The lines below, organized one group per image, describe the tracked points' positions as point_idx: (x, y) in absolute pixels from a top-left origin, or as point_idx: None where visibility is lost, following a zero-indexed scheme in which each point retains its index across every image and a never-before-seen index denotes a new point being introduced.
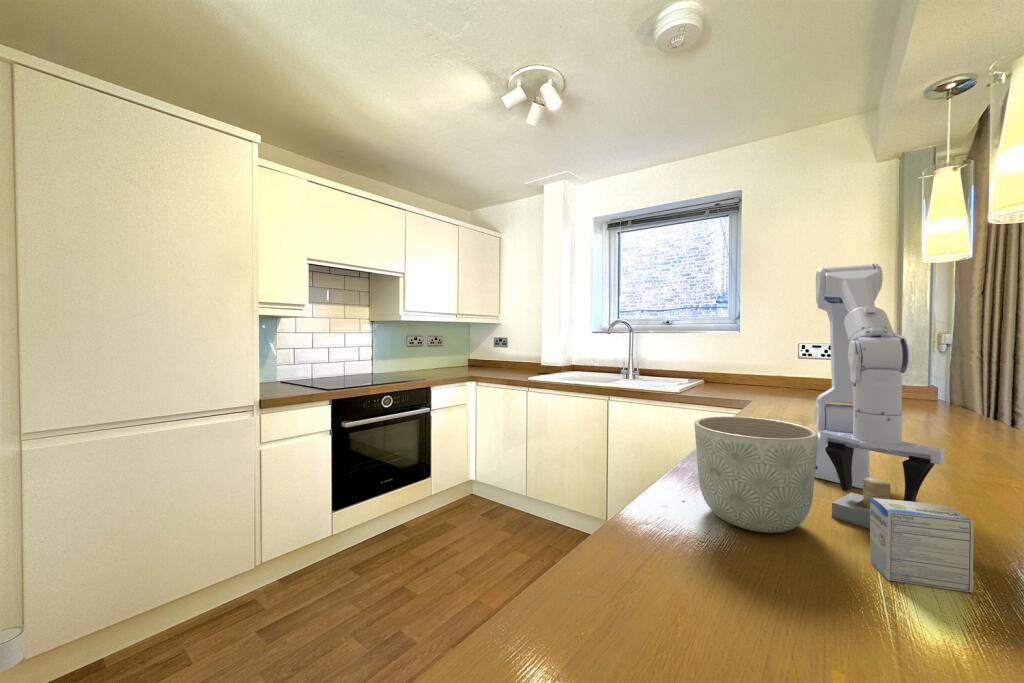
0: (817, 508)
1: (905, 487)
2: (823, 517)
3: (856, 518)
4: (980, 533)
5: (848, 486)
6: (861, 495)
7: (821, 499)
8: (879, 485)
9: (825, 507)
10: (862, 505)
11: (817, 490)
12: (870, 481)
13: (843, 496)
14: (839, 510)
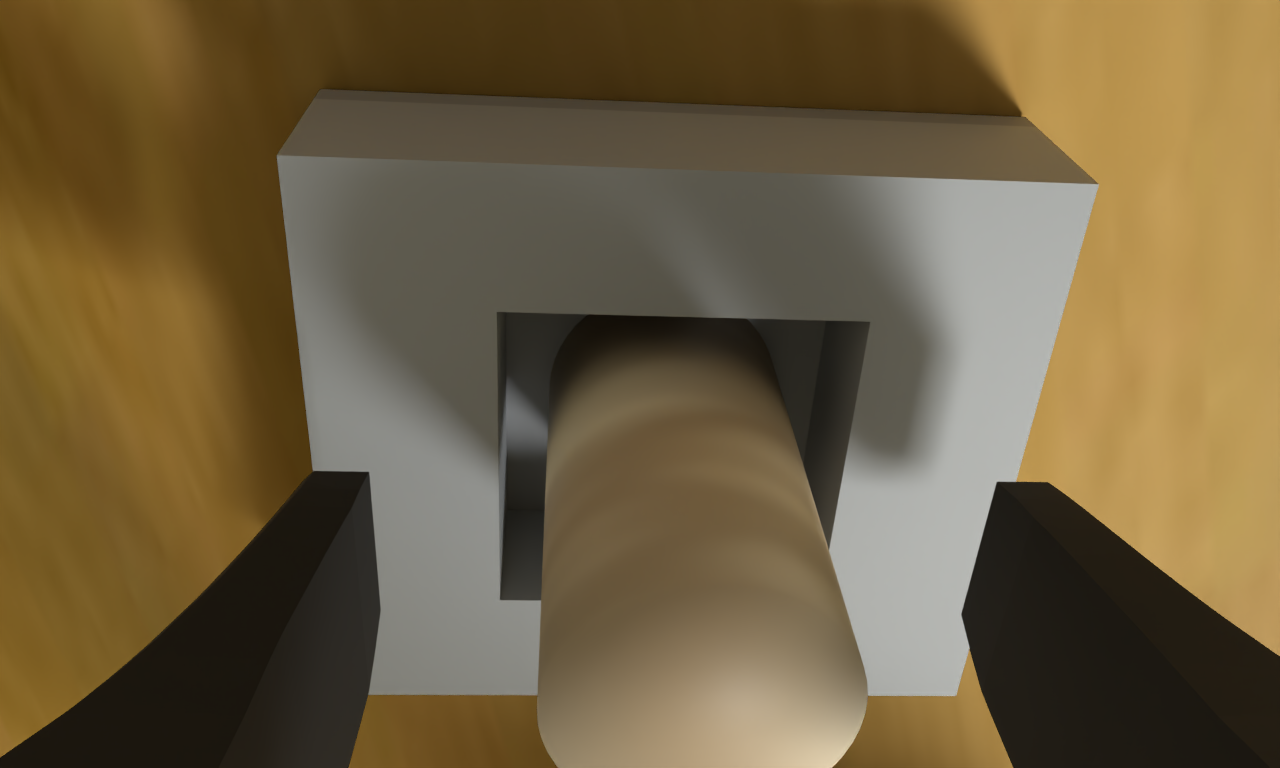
0: (1179, 266)
1: (280, 630)
2: (1101, 25)
3: (795, 133)
4: None
5: (1002, 569)
6: None
7: (1160, 550)
8: (635, 591)
9: (1109, 365)
10: None
11: None
12: (769, 660)
13: None
14: (984, 150)
